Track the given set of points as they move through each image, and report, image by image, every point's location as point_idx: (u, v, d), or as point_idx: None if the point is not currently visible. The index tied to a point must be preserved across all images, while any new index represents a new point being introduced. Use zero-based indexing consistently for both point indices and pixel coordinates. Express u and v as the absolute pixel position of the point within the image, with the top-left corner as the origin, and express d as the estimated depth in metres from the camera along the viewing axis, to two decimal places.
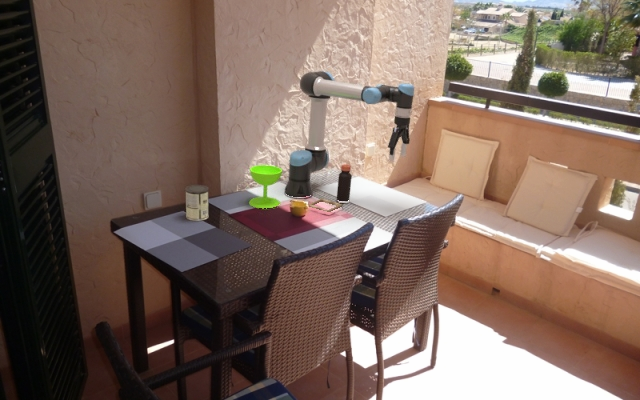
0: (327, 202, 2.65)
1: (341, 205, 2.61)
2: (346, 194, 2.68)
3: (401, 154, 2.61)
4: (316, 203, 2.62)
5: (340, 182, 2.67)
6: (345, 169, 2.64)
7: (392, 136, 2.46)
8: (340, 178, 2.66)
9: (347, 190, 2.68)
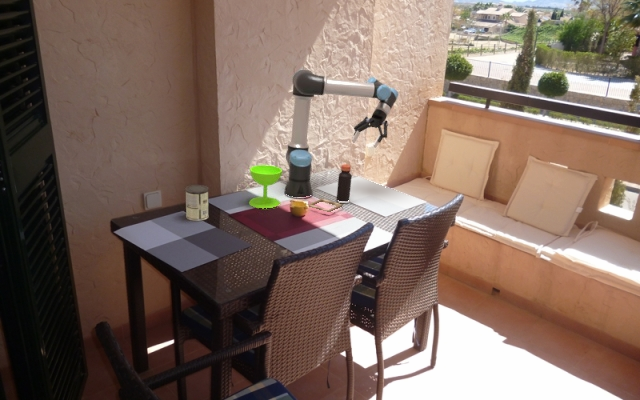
0: (327, 202, 2.65)
1: (341, 205, 2.61)
2: (346, 194, 2.68)
3: (353, 139, 2.77)
4: (316, 203, 2.62)
5: (340, 182, 2.67)
6: (345, 169, 2.64)
7: (386, 127, 2.72)
8: (340, 178, 2.66)
9: (347, 190, 2.68)
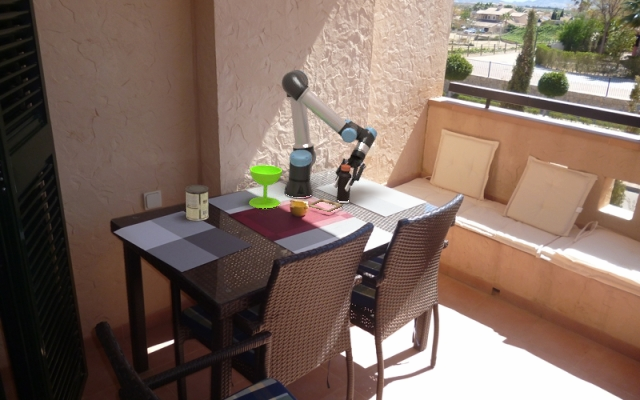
0: (327, 202, 2.65)
1: (341, 205, 2.61)
2: (346, 194, 2.68)
3: (335, 185, 2.68)
4: (316, 203, 2.62)
5: (340, 182, 2.67)
6: (345, 169, 2.64)
7: (361, 171, 2.67)
8: (340, 178, 2.66)
9: None
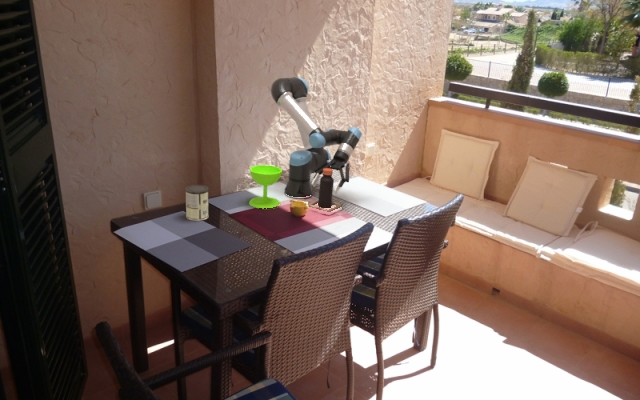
0: None
1: (341, 205, 2.61)
2: (328, 199, 2.56)
3: (313, 183, 2.58)
4: (316, 203, 2.62)
5: (322, 187, 2.54)
6: (327, 173, 2.52)
7: (348, 171, 2.54)
8: (321, 182, 2.53)
9: (329, 195, 2.55)
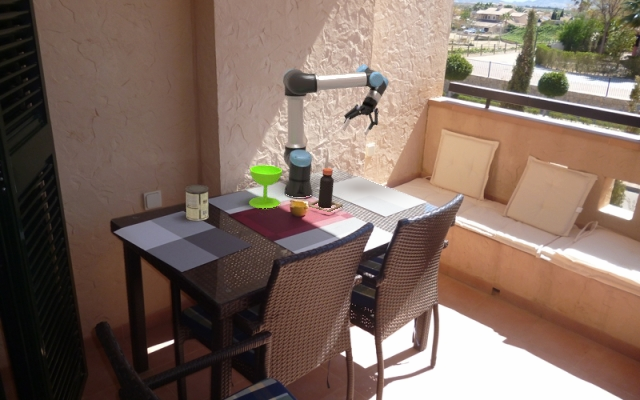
0: None
1: (341, 205, 2.61)
2: (328, 199, 2.56)
3: (344, 127, 2.76)
4: (316, 203, 2.62)
5: (322, 187, 2.54)
6: (327, 173, 2.52)
7: (377, 115, 2.72)
8: (321, 182, 2.53)
9: (329, 195, 2.55)
